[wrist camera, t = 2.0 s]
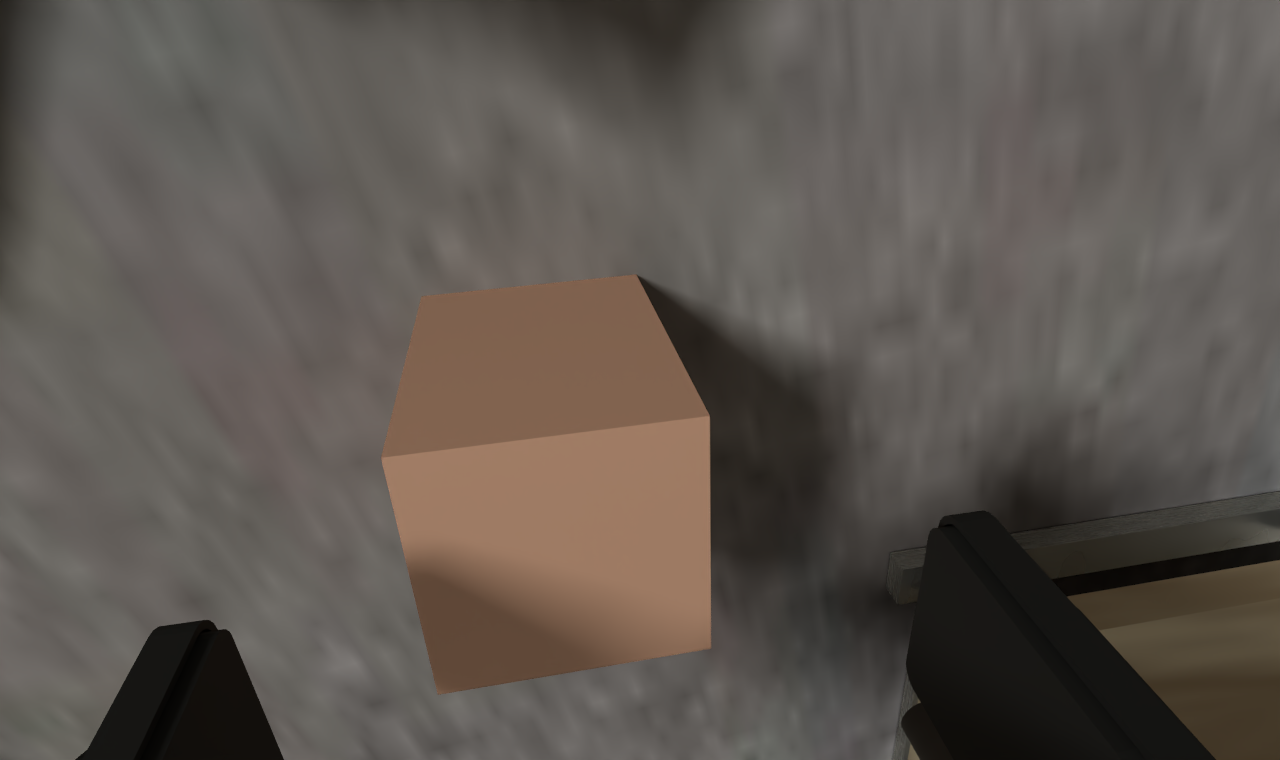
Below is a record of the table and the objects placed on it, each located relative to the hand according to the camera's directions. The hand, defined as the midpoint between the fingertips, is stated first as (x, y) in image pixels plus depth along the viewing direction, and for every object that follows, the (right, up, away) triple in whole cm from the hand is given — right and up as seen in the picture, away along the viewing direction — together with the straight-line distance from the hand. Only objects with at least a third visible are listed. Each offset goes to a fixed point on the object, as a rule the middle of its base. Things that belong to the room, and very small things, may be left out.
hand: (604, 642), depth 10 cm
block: (-2, +4, +9) cm, 9 cm away
